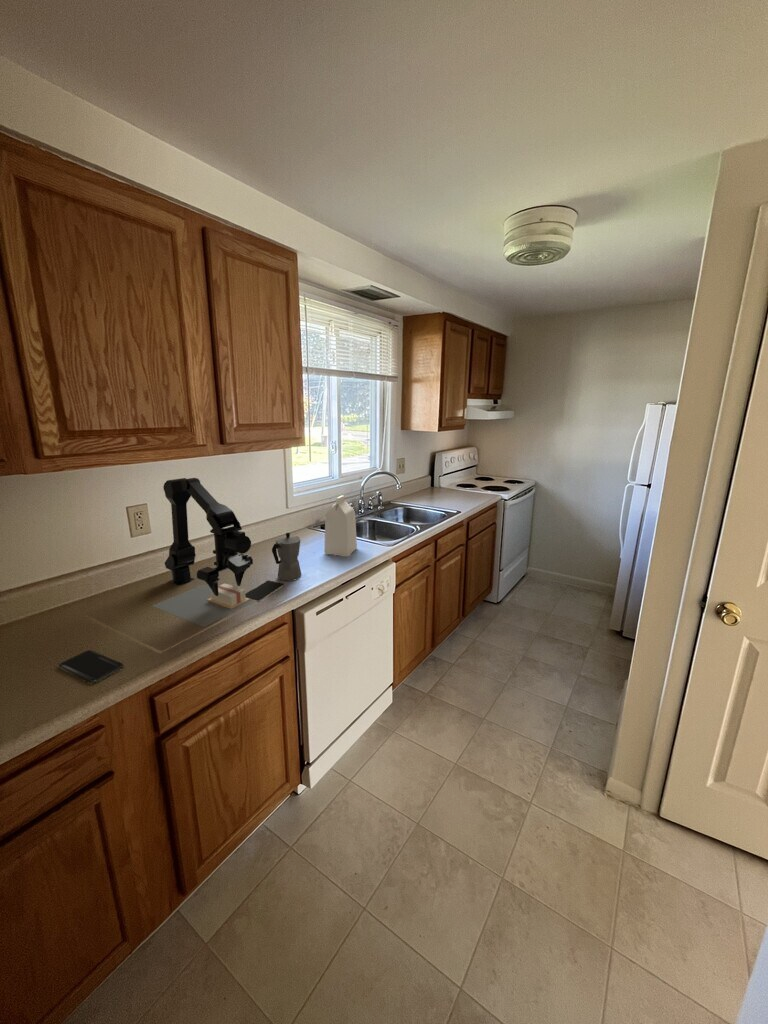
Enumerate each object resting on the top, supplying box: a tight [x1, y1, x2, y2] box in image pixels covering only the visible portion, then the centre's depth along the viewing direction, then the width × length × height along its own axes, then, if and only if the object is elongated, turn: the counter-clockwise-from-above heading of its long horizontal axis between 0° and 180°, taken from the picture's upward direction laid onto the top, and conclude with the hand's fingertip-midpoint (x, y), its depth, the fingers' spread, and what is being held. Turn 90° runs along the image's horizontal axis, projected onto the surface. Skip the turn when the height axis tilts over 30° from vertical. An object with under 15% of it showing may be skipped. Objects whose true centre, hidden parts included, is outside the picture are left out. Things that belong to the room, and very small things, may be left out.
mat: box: [151, 583, 255, 628], centre depth 138 cm, size 26×20×1 cm
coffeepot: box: [271, 532, 302, 581], centre depth 159 cm, size 15×9×18 cm, turn 153°
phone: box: [58, 649, 124, 684], centre depth 104 cm, size 8×1×15 cm
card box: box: [210, 583, 246, 606], centre depth 140 cm, size 10×6×4 cm, turn 61°
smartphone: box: [245, 580, 285, 603], centre depth 149 cm, size 8×1×15 cm
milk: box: [323, 495, 358, 557], centre depth 189 cm, size 12×12×26 cm
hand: (228, 590), depth 140 cm, fingers open, 9 cm apart
